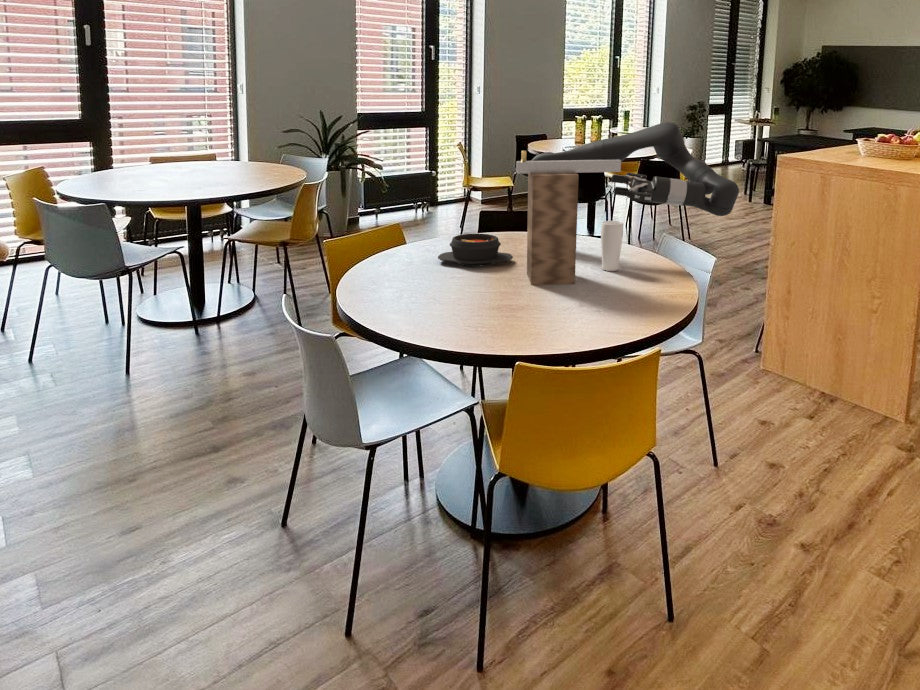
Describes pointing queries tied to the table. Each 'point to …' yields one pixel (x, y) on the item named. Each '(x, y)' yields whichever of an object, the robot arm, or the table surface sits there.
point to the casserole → (475, 250)
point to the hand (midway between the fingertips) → (613, 184)
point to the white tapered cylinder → (611, 244)
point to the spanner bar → (566, 166)
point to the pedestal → (552, 228)
